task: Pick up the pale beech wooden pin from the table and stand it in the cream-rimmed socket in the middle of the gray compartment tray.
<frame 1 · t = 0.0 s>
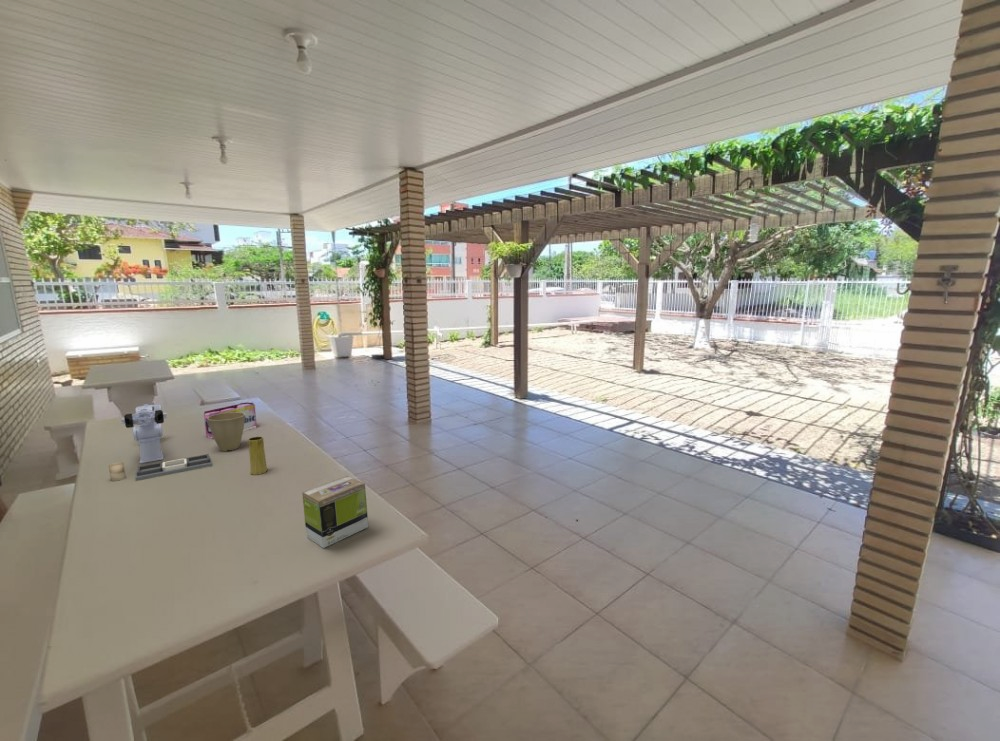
hand: (143, 421, 173), 22 cm above the table, tool horizontal, fingers open, 7 cm apart
gum box: (232, 432, 230), on the table
plant pot: (230, 449, 205), on the table
gray compartment tray: (175, 468, 181), on the table
vase: (258, 472, 177), on the table
tea box: (337, 533, 131), on the table
beech pin: (118, 478, 171), on the table
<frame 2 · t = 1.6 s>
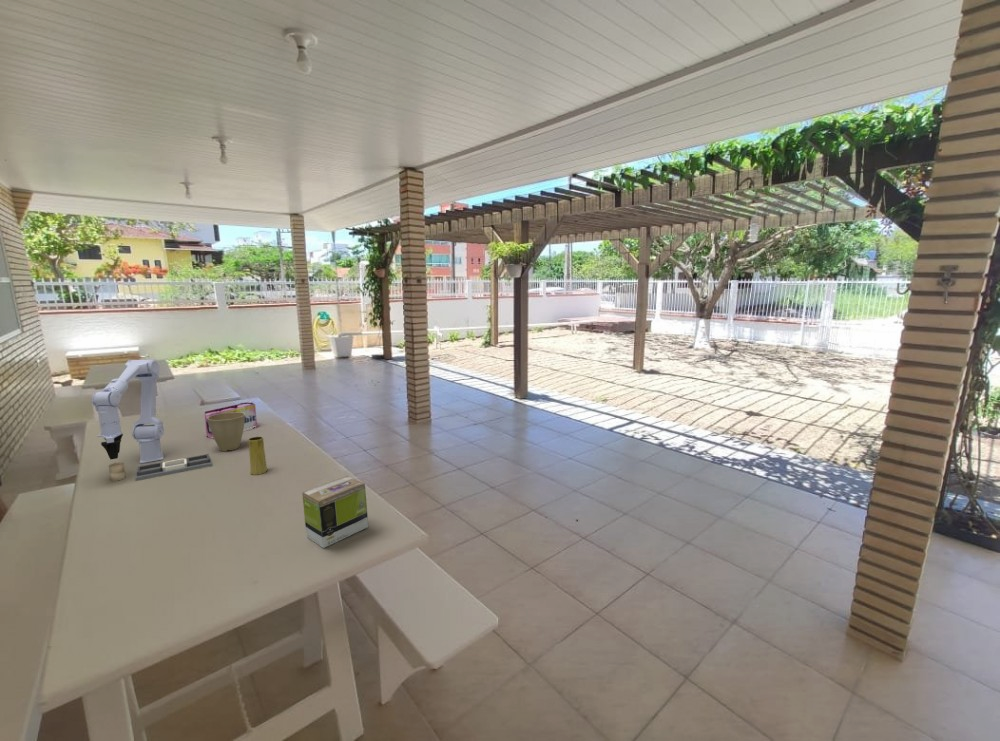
hand: (114, 455, 169), 9 cm above the table, tool pointing down, fingers open, 7 cm apart
nothing on the table moved.
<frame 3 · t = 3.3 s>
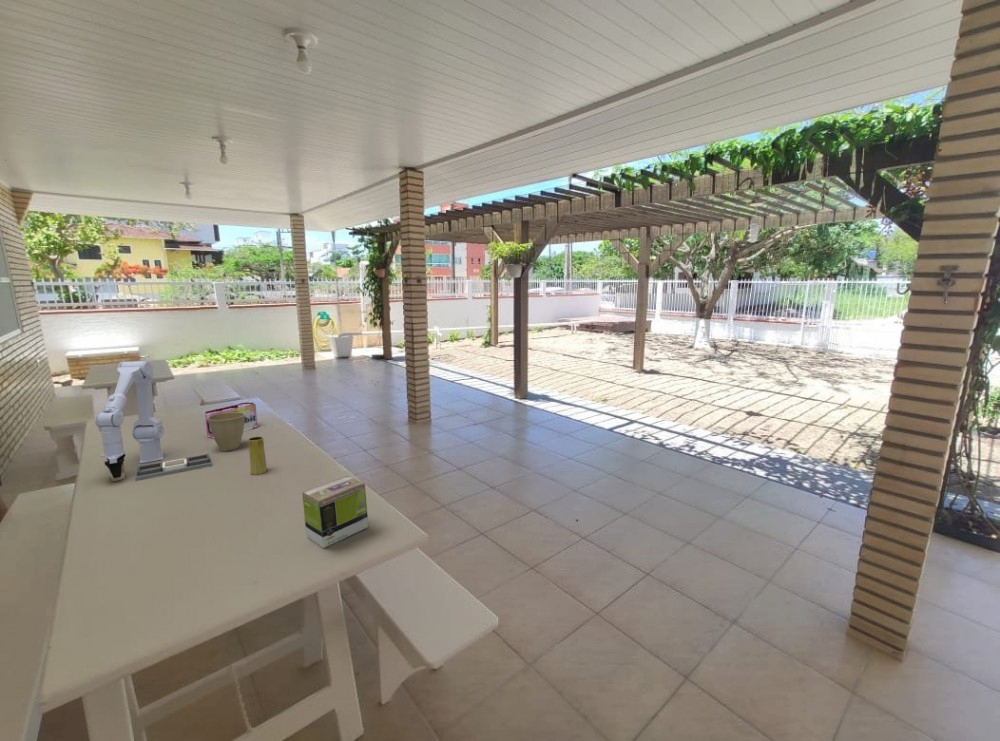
hand: (117, 475, 170), 1 cm above the table, tool pointing down, fingers closed on beech pin, 4 cm apart
beech pin: (118, 478, 171), on the table, touching gripper
everything else where it was.
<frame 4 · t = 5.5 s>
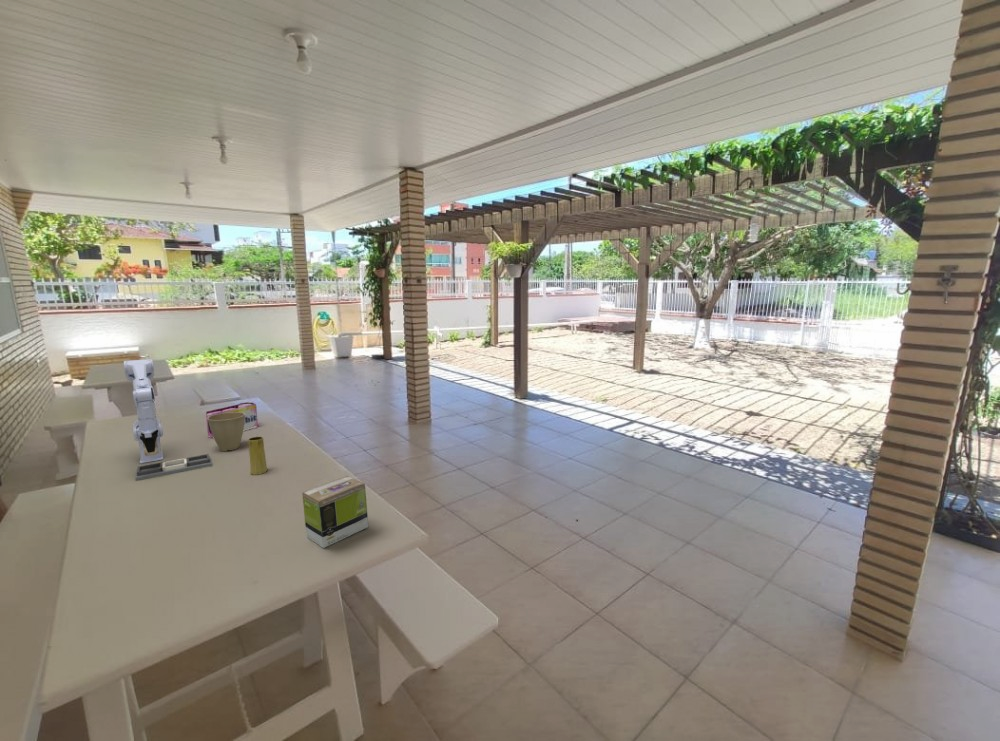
hand: (151, 450, 175), 9 cm above the table, tool pointing down, fingers closed on beech pin, 4 cm apart
beech pin: (151, 453, 175), point 8 cm above the table, touching gripper
everything else where it was.
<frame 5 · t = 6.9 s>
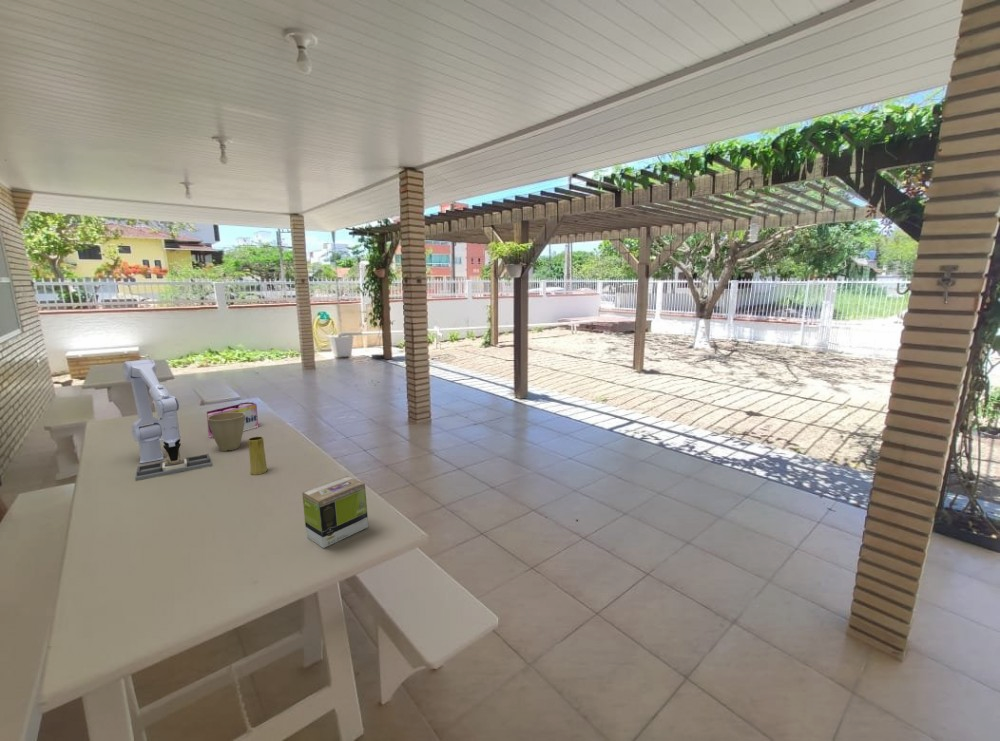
hand: (174, 458, 180), 4 cm above the table, tool pointing down, fingers closed on beech pin, 4 cm apart
beech pin: (174, 462, 180), point 3 cm above the table, touching gripper
when the fingers open (4 cm above the table, at t = 7.9 s): beech pin stays where it is, resting on gray compartment tray.
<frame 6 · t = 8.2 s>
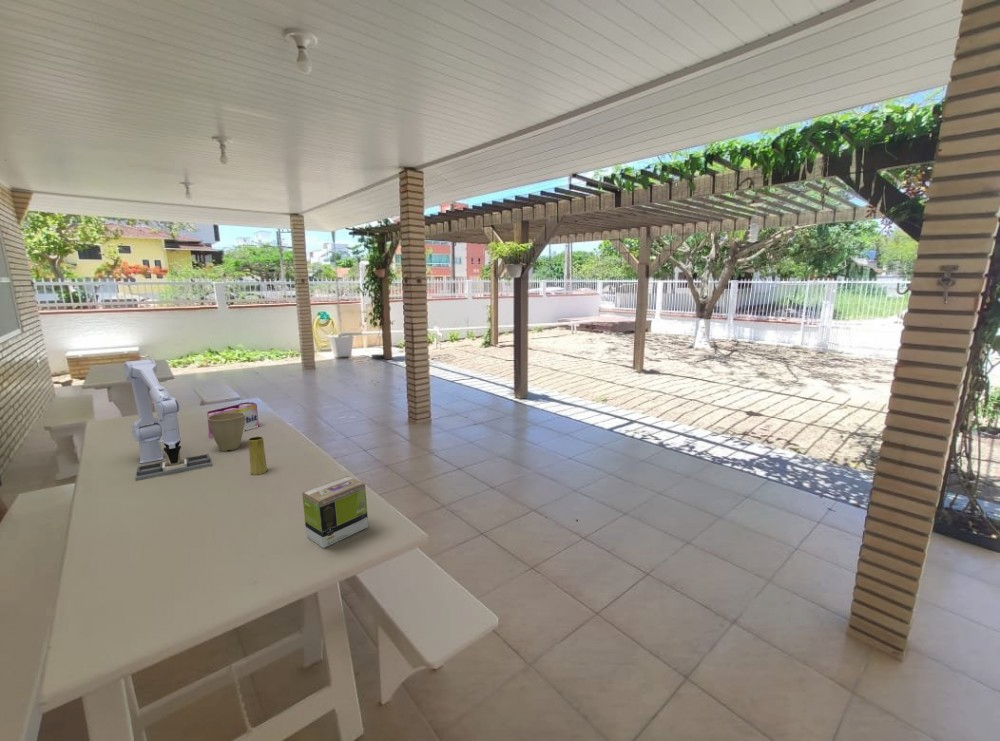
hand: (174, 460, 180), 4 cm above the table, tool pointing down, fingers open, 7 cm apart
beech pin: (174, 466, 180), point 1 cm above the table, touching gray compartment tray
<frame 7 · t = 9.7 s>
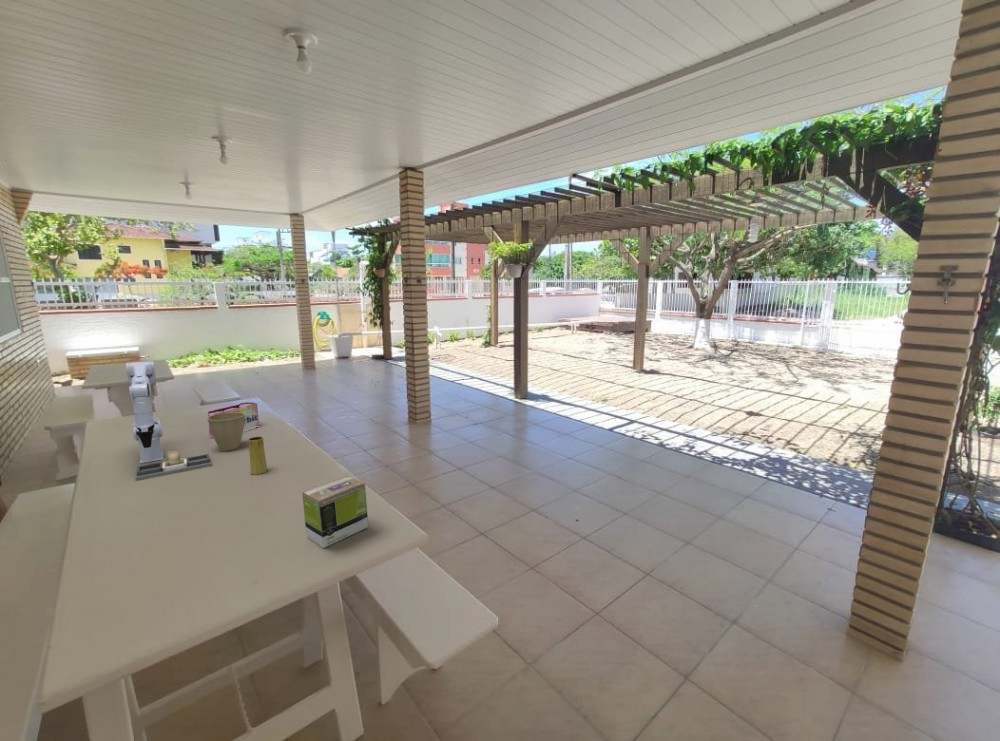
hand: (147, 445, 178), 10 cm above the table, tool pointing down, fingers open, 7 cm apart
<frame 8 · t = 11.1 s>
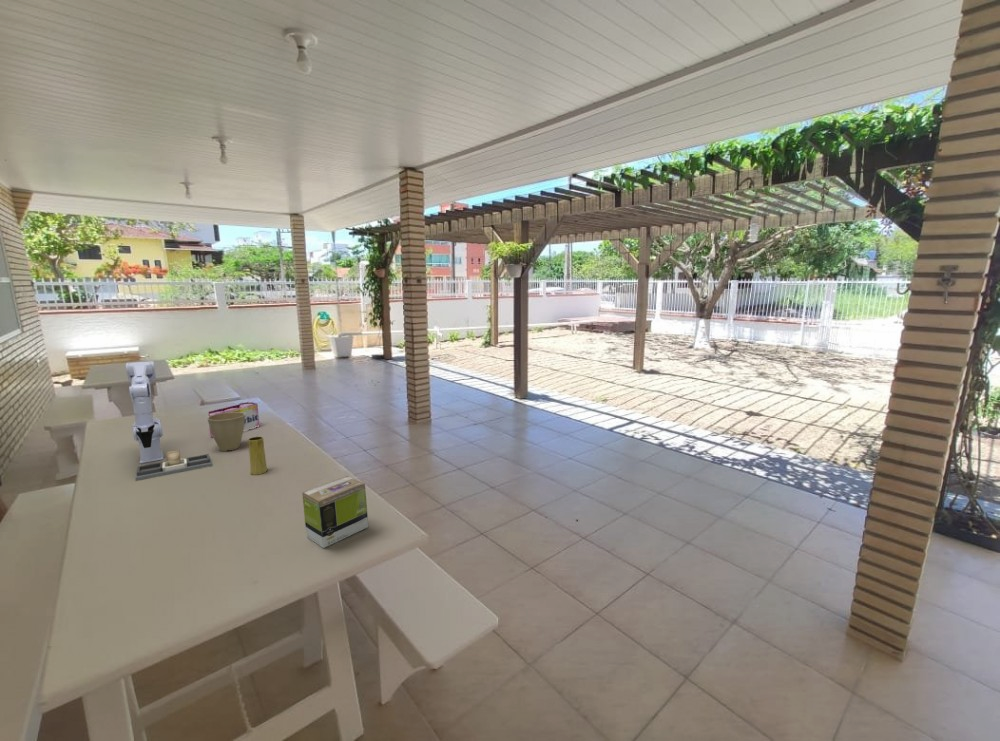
hand: (147, 445, 178), 10 cm above the table, tool pointing down, fingers open, 7 cm apart
at the end: beech pin 0.1 cm off-centre on the gray compartment tray, point 1.2 cm above the gray compartment tray's base; beech pin tilted 0°; the gripper is holding nothing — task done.
